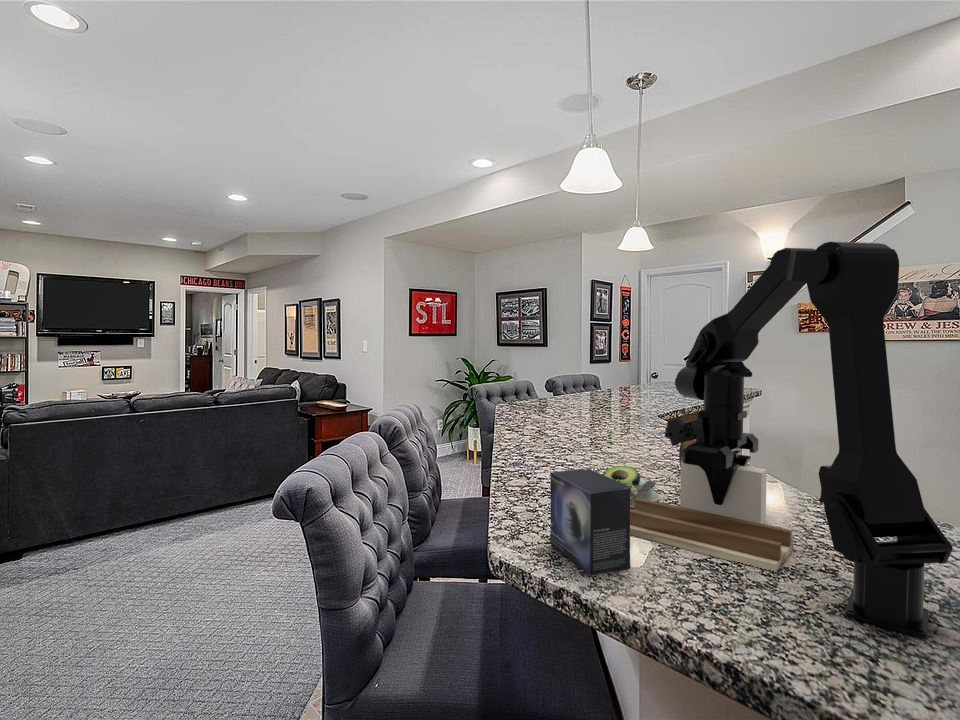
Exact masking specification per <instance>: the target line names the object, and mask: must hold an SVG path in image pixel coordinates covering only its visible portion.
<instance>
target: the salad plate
mask: <svg viewBox="0 0 960 720" xmlns="http://www.w3.org/2000/svg"><path fill="white" fill-rule="evenodd" d="M602 475H604V476H606V477H609V478H611V479H613V480H616V481H618V482H620V483H623V484H625V485H627V486H630V487H631V495H630V509H633V510H634V500H635V499H637V498H640V499H645V500H650V501H655V502H660V499H661V497H660V494H658V493H657V492H656V491H655V490H654V489H653V488H654V487H655V485H656V482H655V481H653V480H647V481H643V480H641V476H640V473H639V472H638V470H637V469H636V468H635V467H632V466H629V465H618V466H612V467H610V468H607V469H606V470H603V474H602Z"/></svg>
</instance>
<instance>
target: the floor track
mask: <svg viewBox="0 0 960 720" xmlns="http://www.w3.org/2000/svg"><path fill="white" fill-rule="evenodd" d="M792 531H793V530H792V529H789V528H784V527H779V526H775V525H770V524H765V523H763V524H761V523H756V522H751V521H746V520H741V519H736V518H732V517H727V516H722V515H717V514H712V513H708V512H703V511H698V510H693V509H688V508H683V507H680V506H678V505H673V504H668V503H663V502H660V501H658V502H655V501H650V500H645V499H640V498H637V499H635V500H634V509H630V536H633V537H637V538H641V539H643V540H648V541H653V542H656V543H660V544H664V545H668V546H671V547H676V548H680V549H684V550H687V551H691V552H695V553H698V554H703V555H706V556H710V555H711V557H713V558H718V559H723V560H726V561H730V562H733V561H735V562H734V563H737V562H740V563H739V564H741V563H743V564H742V565H745V564H747V565H746V566H748V565H751V566H750V567H752V566H754V567H753V568H756V567H758V568H757V569H760V568H762V569H761V570H764V569H766V570H765V571H768V570H771V571H770V572H772V571H774V572H773V573H775V572H776V573H778V571H779V570H780V568H781V567H782V565H783V564H784V563H783V562H785V561H786V560H787V559H788V557H789V556H790V554H791V553H792V552H791V551H793V550H794V541H792V535H793V534H792V533H793V532H792ZM790 552H791V553H790ZM788 555H789V556H788ZM787 556H788V557H787ZM785 559H786V560H785ZM782 563H783V564H782ZM781 564H782V565H781ZM780 566H781V567H780ZM778 569H779V570H778ZM777 570H778V571H777Z"/></svg>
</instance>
